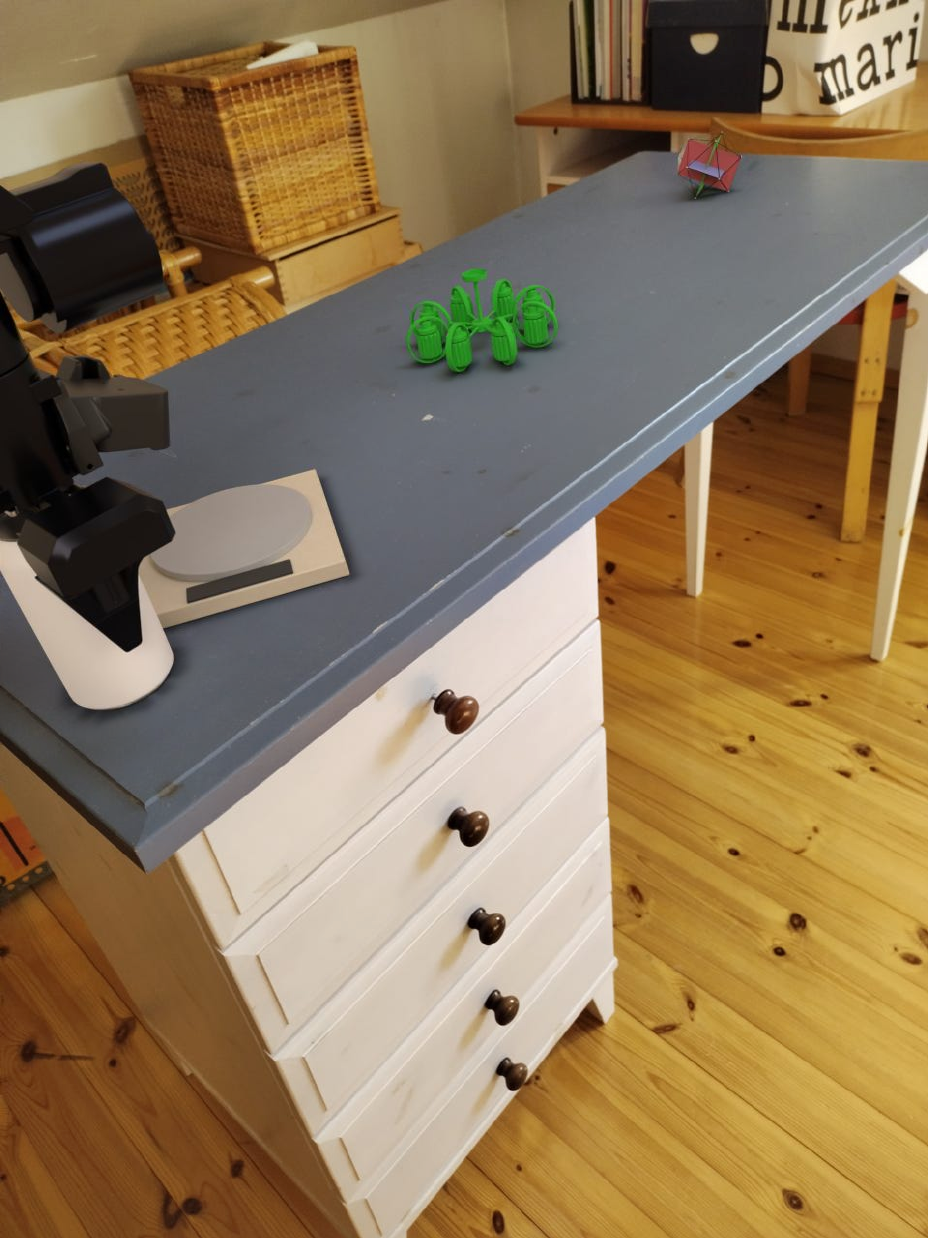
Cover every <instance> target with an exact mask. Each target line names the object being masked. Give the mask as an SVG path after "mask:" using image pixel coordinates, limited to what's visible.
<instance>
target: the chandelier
mask: <svg viewBox="0 0 928 1238" xmlns="http://www.w3.org/2000/svg"><path fill="white" fill-rule="evenodd" d="M487 277H488V273H487V270H486V269H485V268H481V267H480V268H472V269H468V270H465V271H464V272H462V273H461V278H462V282H464V283H473V287H474V288H473V289H474V295H475V302H476V309H477V317H475V314H474V313H475V312H474V306H473V301H472V299H471V298H470V294H469V293H468V292H465V290H464V289H463V287H462V286H460V285H456V286H453V287H452V288H451V291H450V303H449V309H450V314H451V316H450V314H449V313H448V311H447V310H446V308H445V307H443V306H442V305H441V304H440V303H438V302H435V301H432V300H425V301H424V300H423V301H421V302H419V303H418V304H417V305H416V306H414V308H413V309H412V311H411V312H410V317H409V323H410V324H409V325H410V326H409V328H408V330H407V333H406V337H405V345H406V349H407V351H408V353H409V354H410V355H411V357H412V358H413V359H414V360H416V361H417V362H419V363H423V364H432V363H436V362H437V361H440V360H441V359H442V358H443V357H445V358H446V363H447V365H448V367H449V369H450V370H451V371H452V372H454V373H462V372H464V371H465V370H466V369H467V367H468V366H469V365H470V364H471V363H472V362H473V353H472V343H471V338H472V337H473V335H475V333H482V332H487V331H488V332H489V333H490V334H491V335H490V340H491V348H492V354H493V357H494V359H495V360H496V361H499V362H502V363H503V364H504V365H505V366H510V365H514V364H515V362H516V358H517V355H518V345H517V339H518V340H519V341H520V342H521V343H522V344H524V345H526V346H528V347H530V348H533V349H534V348H535V349H536V348H537V349H538V348H544V347H546V346H548V345H549V344H550V343H551V342H552V341H553V340H554V339H555V338H556V336H557V334H558V328H559V323H558V319H557V318H558V317H557V316H556V314H555V310H556V302H555V298H554V295H553V294H552V292H551V291H550V289H548V288H546V287H545V286H542V285H539V284H532V285H528V286H526V287H524V288H523V289H521V290H520V291H519V293H518V294H516V297H514V289H513V286H512V284H511V282H510V281H509V280H508V279H507V278H502V279H501V278H500V279H498V280H497V281H496V282H495V285H494V287H493V289H492V291H491V298H490V299H491V310H492V311H491V312H490V313H489V314H488V315H487V316H485V317H484V316H483V309H482V304H481V297H480V296H481V295H480V290H479V284H478V282H481V281H483V280H485V279H486V278H487ZM537 289H540V290H543V291H545V292H546V293H547V295H548V297H549V299H550V306H548V304H545V300H544V298H543V294H542V293H541V292H538V291H537ZM521 298H522V302H521V305H520V306H519V307H518V308H517V306H518V303H519V301H520V299H521ZM420 307H422V310H419V317H418V319H416V320H415V314H416V311H417V309H418V308H420ZM520 310H521V312H522V324H521V323H520V322H519V320H518V318H517V317H518V314H519V312H520ZM439 311H440V312H441V313H442V314H443V316H444V318H445V320H446V322H445V321H443V319H442V315H441V314H440V312H439ZM546 312H547V313H548V315H546ZM492 316H493V319H492V318H491V317H492ZM511 320H512V322H510V321H511ZM551 320H552V322H553V334H552V336H551V338H550V339H549V340H548V338H549V332H548V324H549V323H550V322H551ZM446 323H447V324H446ZM519 328H520V329H522V330H523V335H524V336H523V335H522V334H521V332H520V331H519ZM444 329H445V330H444ZM445 331H446V336H445ZM470 331H471V332H470ZM412 333H413V334H414V336H415V338H416V344H417V349H418V354H419V356H420V357H421V358H420V357H418V356H416V355H415V354H414V353H413V352H412V349H411V346H410V345H411V344H410V339H411V335H412ZM444 336H445V338H444ZM516 337H517V338H516ZM444 343H445V346H444V348H443V346H442V344H444Z"/></svg>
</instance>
